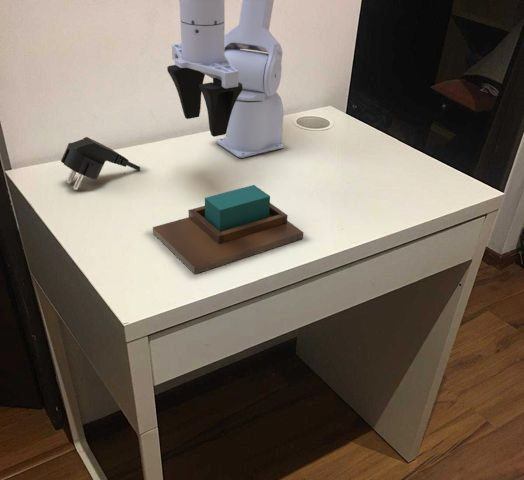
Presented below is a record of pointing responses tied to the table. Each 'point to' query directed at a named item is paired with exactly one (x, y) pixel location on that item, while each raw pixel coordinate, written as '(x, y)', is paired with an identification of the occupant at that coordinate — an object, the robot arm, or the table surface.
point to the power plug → (90, 159)
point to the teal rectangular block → (237, 207)
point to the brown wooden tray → (223, 238)
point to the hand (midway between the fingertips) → (205, 125)
